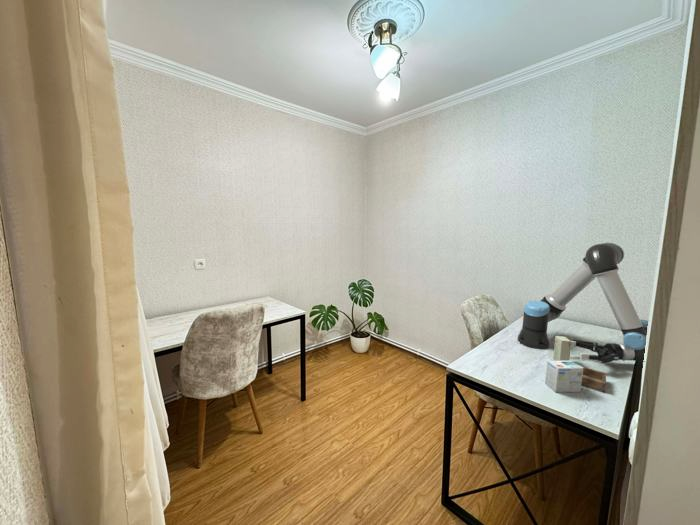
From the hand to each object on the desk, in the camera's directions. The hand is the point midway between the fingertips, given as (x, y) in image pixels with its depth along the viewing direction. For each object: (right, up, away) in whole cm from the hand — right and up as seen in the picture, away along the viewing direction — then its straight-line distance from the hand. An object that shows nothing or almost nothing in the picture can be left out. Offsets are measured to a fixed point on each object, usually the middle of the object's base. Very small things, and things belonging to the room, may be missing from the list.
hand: (570, 349), depth 137 cm
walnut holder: (-4, -9, -15) cm, 18 cm away
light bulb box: (-19, -10, -19) cm, 29 cm away
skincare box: (-3, -7, +2) cm, 8 cm away
